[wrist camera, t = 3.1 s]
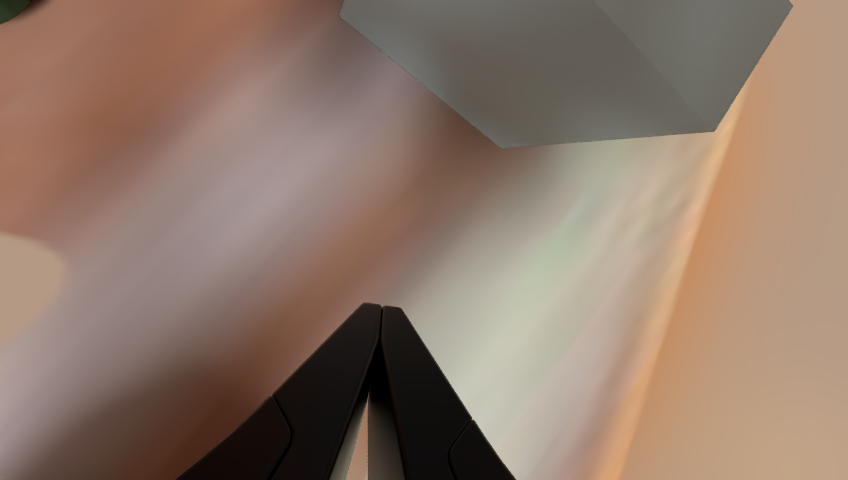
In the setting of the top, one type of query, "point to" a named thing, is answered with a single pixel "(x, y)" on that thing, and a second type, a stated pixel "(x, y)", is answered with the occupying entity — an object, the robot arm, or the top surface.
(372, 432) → the robot arm
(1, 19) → the coffee jar
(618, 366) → the top surface
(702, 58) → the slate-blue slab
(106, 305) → the top surface
